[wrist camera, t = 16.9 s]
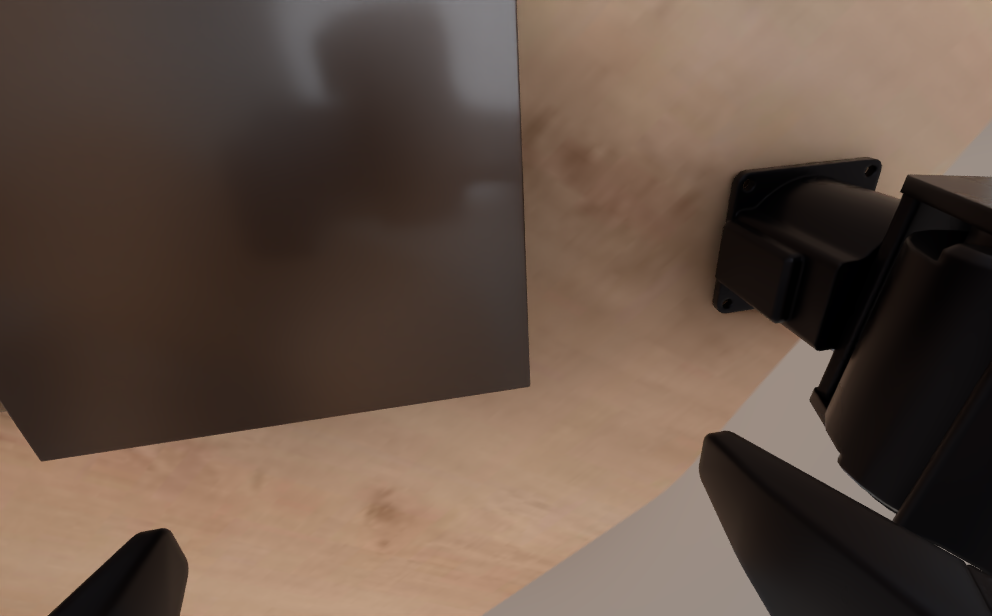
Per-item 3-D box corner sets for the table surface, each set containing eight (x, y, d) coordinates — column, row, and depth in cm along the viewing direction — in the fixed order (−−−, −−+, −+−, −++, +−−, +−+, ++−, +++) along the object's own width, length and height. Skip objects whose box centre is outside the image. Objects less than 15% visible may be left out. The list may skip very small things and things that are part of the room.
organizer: (140, 344, 20) (40, 462, 14) (-37, -29, 14) (-325, -73, 8) (497, 297, 22) (530, 387, 16) (473, -54, 16) (513, -105, 10)
